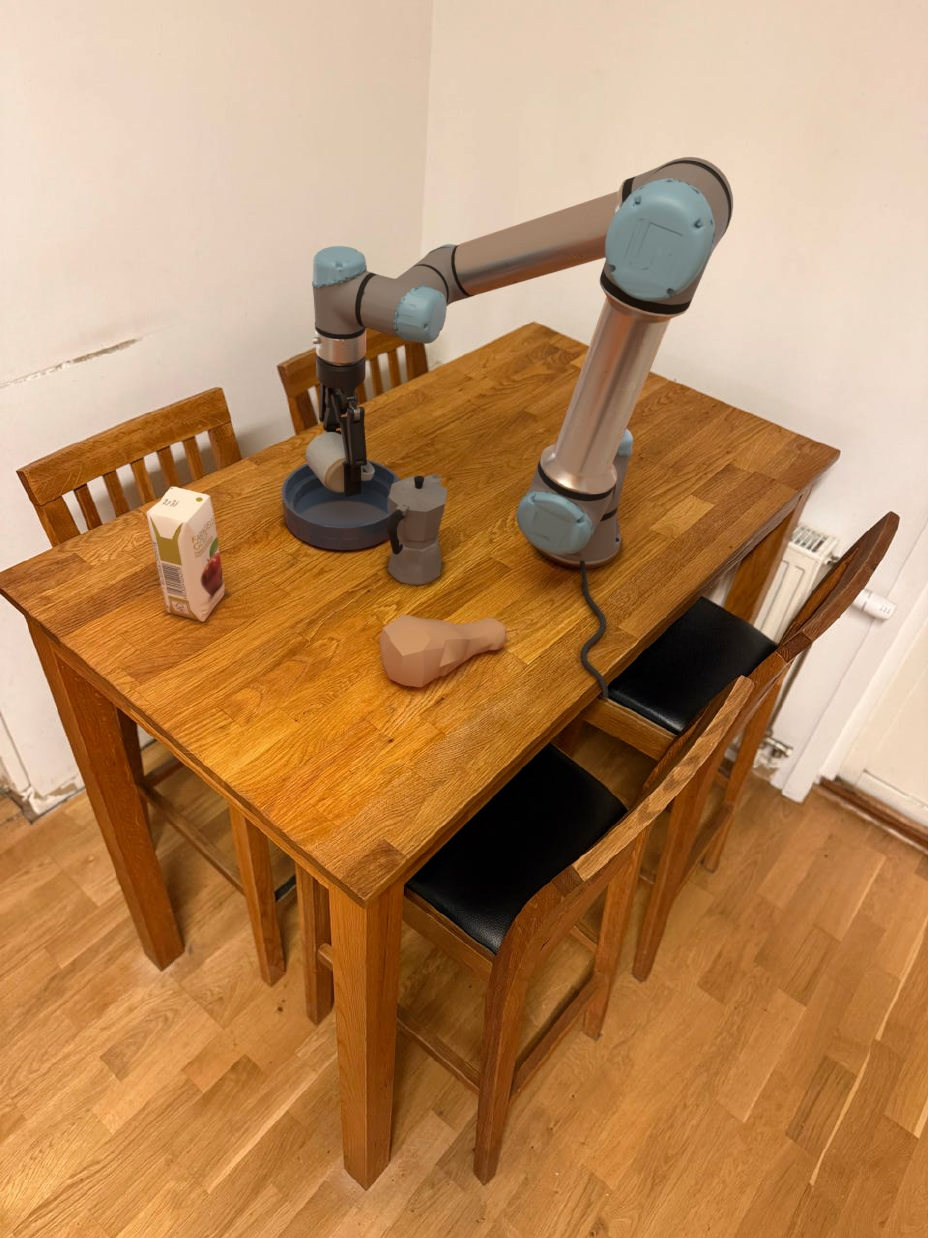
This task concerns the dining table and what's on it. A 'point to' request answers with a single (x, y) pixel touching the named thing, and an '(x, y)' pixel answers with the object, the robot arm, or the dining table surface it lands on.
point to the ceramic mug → (331, 461)
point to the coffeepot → (416, 529)
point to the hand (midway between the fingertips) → (343, 479)
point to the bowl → (338, 510)
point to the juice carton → (187, 553)
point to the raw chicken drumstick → (434, 646)
